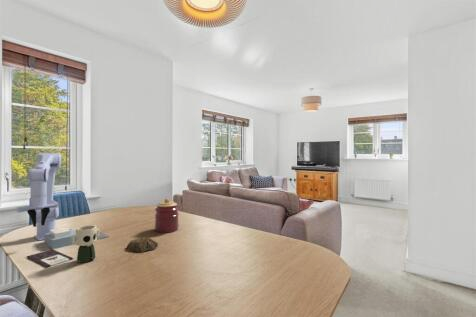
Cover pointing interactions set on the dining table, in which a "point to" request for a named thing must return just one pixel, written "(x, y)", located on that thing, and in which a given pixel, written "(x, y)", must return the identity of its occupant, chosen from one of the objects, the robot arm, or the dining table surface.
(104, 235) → the mat
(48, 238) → the plate
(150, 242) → the mossy rock
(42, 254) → the chocolate bar
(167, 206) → the canister
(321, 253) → the dining table surface
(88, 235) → the character mug
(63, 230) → the tile
